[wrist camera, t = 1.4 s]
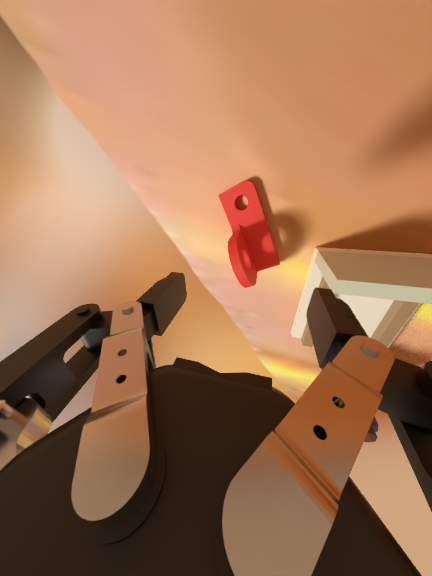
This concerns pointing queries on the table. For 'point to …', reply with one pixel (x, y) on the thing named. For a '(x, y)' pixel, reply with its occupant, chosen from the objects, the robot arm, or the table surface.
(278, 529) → the robot arm
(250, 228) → the bracket
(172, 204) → the table surface
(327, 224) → the table surface
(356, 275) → the cleat board
